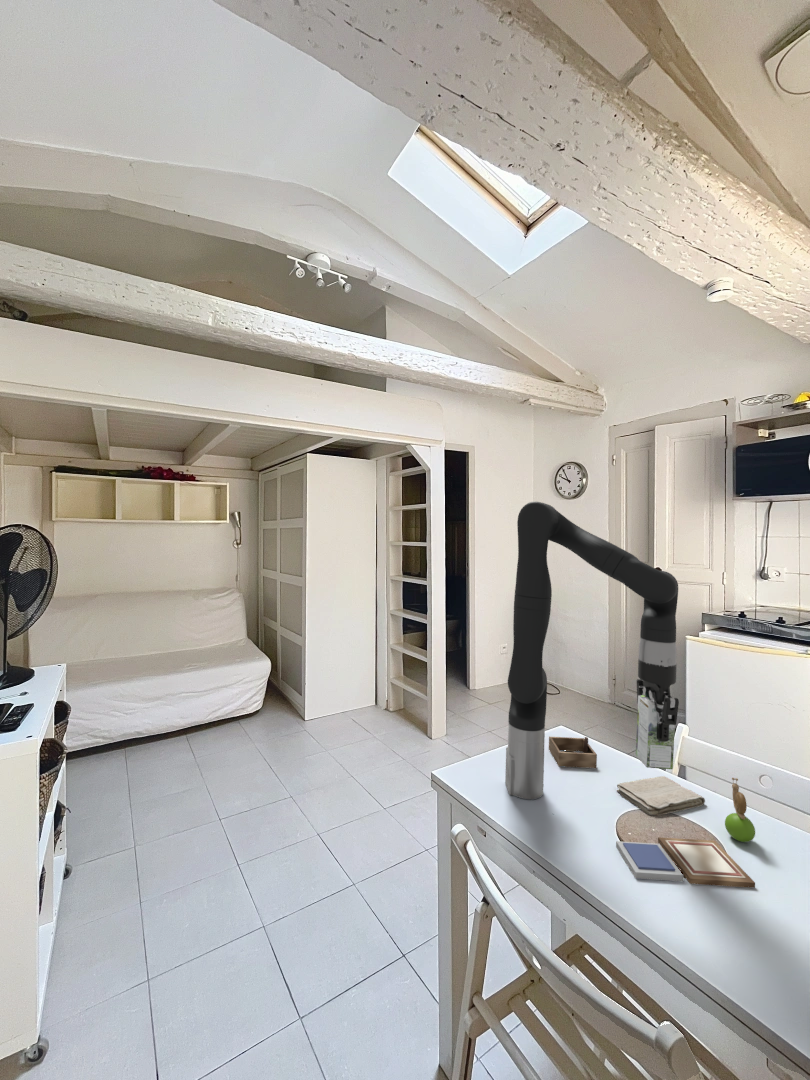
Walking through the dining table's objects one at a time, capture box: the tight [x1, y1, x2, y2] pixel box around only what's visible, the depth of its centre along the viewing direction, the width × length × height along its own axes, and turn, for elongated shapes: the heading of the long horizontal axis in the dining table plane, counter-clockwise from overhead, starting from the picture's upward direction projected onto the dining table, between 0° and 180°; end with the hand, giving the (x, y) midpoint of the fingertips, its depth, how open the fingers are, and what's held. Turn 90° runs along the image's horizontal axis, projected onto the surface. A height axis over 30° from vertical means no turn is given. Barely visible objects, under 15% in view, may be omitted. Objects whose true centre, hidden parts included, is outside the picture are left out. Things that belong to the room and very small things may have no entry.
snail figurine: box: [724, 777, 756, 843], centre depth 100 cm, size 5×6×12 cm
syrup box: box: [635, 695, 676, 770], centre depth 101 cm, size 6×6×14 cm
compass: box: [562, 736, 589, 753], centre depth 134 cm, size 8×8×7 cm
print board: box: [657, 836, 756, 889], centre depth 91 cm, size 12×12×1 cm
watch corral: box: [548, 736, 598, 769], centre depth 135 cm, size 11×11×4 cm
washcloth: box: [616, 775, 706, 816], centre depth 115 cm, size 12×18×3 cm, turn 110°
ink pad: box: [615, 840, 684, 882], centre depth 91 cm, size 9×9×2 cm
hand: (654, 733), depth 101 cm, fingers closed on syrup box, 6 cm apart
